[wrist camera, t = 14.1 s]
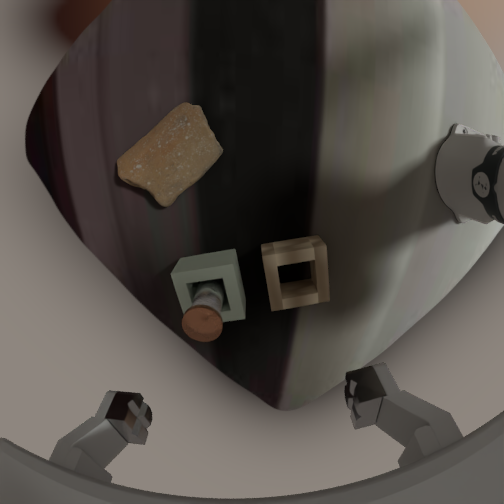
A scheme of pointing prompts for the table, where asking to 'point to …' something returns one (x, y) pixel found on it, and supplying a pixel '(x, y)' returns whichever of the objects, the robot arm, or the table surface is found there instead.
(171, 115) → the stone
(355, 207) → the table surface
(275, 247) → the mount block
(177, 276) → the socket block
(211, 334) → the pin
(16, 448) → the robot arm
